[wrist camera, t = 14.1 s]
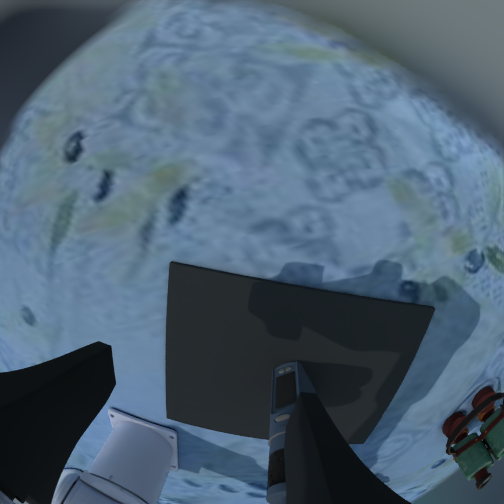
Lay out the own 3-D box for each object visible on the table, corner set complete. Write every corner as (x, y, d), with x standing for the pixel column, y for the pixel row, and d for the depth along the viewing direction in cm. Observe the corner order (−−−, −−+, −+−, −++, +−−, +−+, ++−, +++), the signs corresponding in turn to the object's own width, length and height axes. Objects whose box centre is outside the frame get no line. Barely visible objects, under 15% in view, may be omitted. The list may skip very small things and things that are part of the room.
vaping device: (298, 353, 19) (309, 501, 7) (321, 398, 20) (339, 525, 8) (266, 365, 19) (252, 510, 8) (292, 408, 20) (294, 533, 9)
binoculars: (533, 418, 9) (531, 450, 9) (486, 368, 19) (497, 405, 19) (456, 484, 11) (470, 500, 11) (426, 419, 21) (447, 448, 21)
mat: (362, 441, 21) (363, 443, 21) (167, 415, 22) (166, 418, 22) (433, 306, 18) (435, 308, 17) (171, 261, 18) (169, 262, 18)
